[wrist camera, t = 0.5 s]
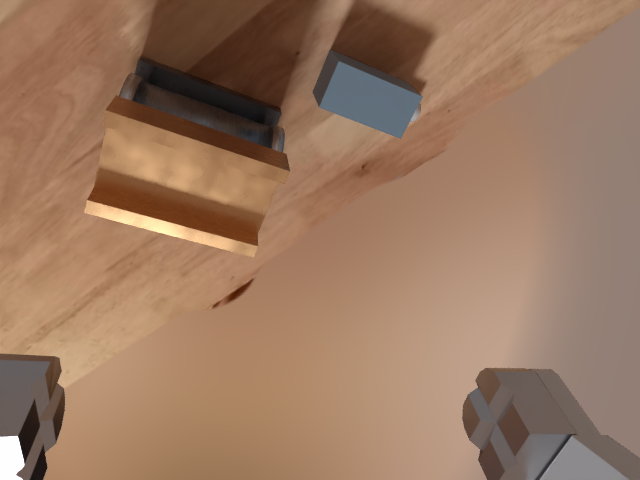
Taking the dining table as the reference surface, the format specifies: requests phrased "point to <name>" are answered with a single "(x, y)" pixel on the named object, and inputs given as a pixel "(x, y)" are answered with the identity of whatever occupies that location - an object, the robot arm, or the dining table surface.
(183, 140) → the wood-topped grey cylinder
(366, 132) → the dining table surface
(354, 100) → the blue-grey rectangular block
